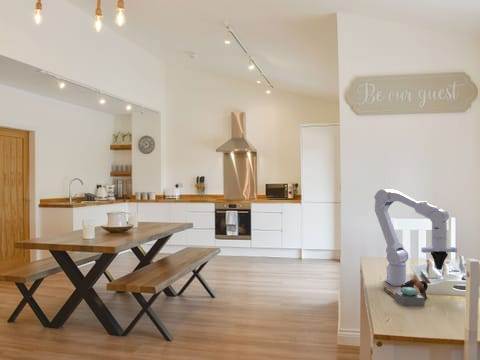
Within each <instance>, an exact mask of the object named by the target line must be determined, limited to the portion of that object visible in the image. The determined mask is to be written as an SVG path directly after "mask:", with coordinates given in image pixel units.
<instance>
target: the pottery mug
mask: <svg viewBox="0 0 480 360" xmlns="http://www.w3.org/2000/svg"><path fill="white" fill-rule="evenodd" d="M415 286H416V288H417V289H418V291H419V293H420V294H419V295H421V296H422V297H424V300H425V299H427V298H428V296H427V292H426V291H428V287H429V285H428V283H427V281H426V280H419V281H418V280H417V279H416V278H413V279H410V280H408V281H406V283H405V285H404V284H402V285H401V286H399V287H400V289H401V288H403V287H411V288H415Z"/></svg>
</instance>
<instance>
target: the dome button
mask: <svg viewBox="0 0 480 360" xmlns="http://www.w3.org/2000/svg"><path fill="white" fill-rule="evenodd" d="M418 291H419V289H418V288H415V287H414V288H411V287H403V288H401V287H400V292H402V293H403V294H407V296H412V295H417V294H419V293H418Z"/></svg>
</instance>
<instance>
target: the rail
mask: <svg viewBox="0 0 480 360" xmlns="http://www.w3.org/2000/svg"><path fill="white" fill-rule="evenodd" d="M383 291H384V292H386V293H387V294H388V295H390V296H391V297H392V298H394V299H395V292H394V291H393V290H391V289H390V288H389V287H387V286H383Z"/></svg>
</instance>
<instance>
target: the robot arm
mask: <svg viewBox="0 0 480 360" xmlns="http://www.w3.org/2000/svg"><path fill="white" fill-rule="evenodd" d="M374 200H375V201H374V212H375V214H376V217H377V220H378V223H379V226H380V228H381V231H382V234H383V237H384V240H385V242H386V248H385V252H386V259H387V262H388V264H387V266H386V278H385V279H384V281H385V282H386V283H388V284H390V285H391V286H394V287H398V286H399V287H400V286H401V285H402V284H404V285H405V283H406V282H407V263H406V262H407V261H408V260H409V253H408V252H407V250H406V249H405V248H404V245H403V244H402V243H400V241H399V238H398V235H397V233H396V231H395V228H394V225H393V222H392V219H391V216H390V213H389V209H390V207H391V206H392V204H393V203H394V202H398V203H400V204H404V205H405V206H408V207H410V208H412V209H414V211H415V213H416V214H418V215H421V216H423V217H425V218H427V219H429V220H430V222H431V246H427V247H421V253H425V254H426V253H430V255H431V257H432V259H433V261H434V264H435V269H437V270H443V269H442V268H443V265H444V263H445V261H446V259H447V258H448V256H449V254H448V253H457V249H458V248H457V247H454V246H447V245H448V244H447V243H448V242H447V238H448V237H447V234H448V233H447V232H448V231H447V221H448V220H449V217H450V216H449V212H448V211H446V210H445V209H444V208H439V206H435V205H432V204H430V203H428V202H429V201H427V200H424V201H423V200H421V201H417V200H415V199H414V198H411V197H409V196H407V195H405V194H404V193H402V192H401V191H398V190H395V189H394V188H389V189H381V188H380V189H379V190H377V192H376V193H375V195H374Z"/></svg>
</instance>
